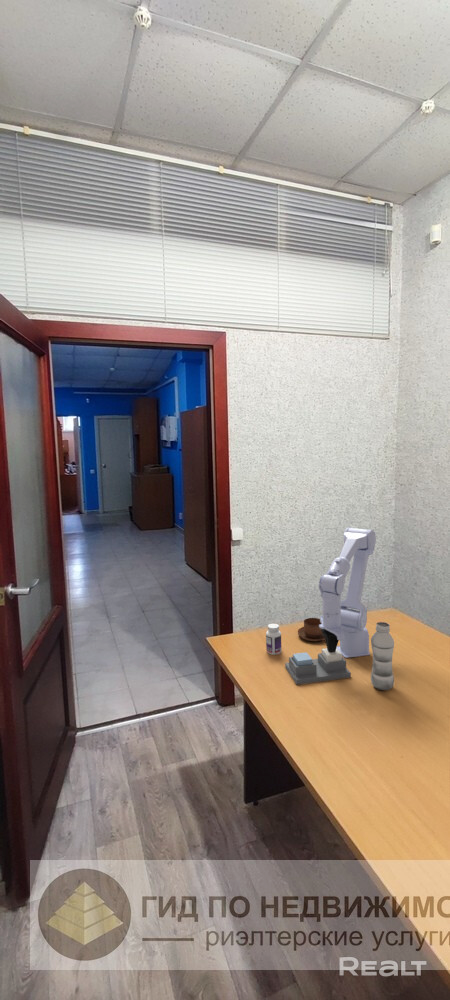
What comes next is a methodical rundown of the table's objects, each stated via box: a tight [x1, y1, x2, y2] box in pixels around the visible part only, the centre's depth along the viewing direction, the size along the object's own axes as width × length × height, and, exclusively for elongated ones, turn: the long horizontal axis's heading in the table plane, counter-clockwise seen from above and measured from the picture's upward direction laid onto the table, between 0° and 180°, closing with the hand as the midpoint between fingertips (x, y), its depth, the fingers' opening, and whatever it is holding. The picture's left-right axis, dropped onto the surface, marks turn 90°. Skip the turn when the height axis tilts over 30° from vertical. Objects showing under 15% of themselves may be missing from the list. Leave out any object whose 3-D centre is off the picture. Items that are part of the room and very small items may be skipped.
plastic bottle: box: [370, 621, 395, 691], centre depth 133 cm, size 6×7×20 cm
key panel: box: [284, 652, 352, 686], centre depth 144 cm, size 18×11×4 cm, turn 100°
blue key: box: [292, 652, 313, 666], centre depth 143 cm, size 5×5×3 cm
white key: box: [321, 647, 343, 662], centre depth 145 cm, size 5×5×3 cm
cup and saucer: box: [297, 617, 325, 642], centre depth 170 cm, size 12×12×6 cm
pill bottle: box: [265, 623, 283, 656], centre depth 159 cm, size 5×5×10 cm
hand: (331, 651), depth 144 cm, fingers closed, pressing on white key
